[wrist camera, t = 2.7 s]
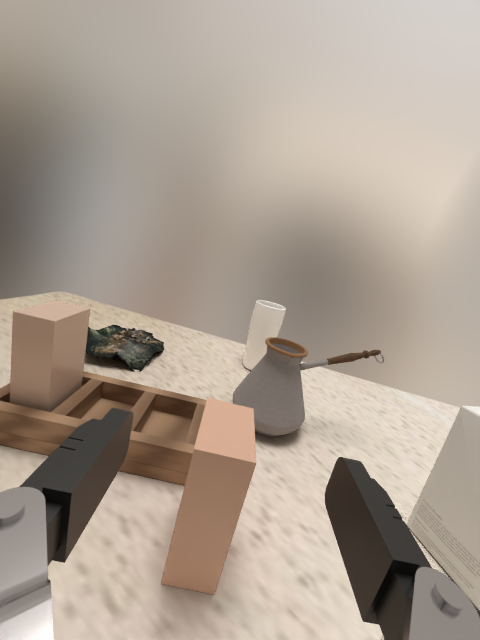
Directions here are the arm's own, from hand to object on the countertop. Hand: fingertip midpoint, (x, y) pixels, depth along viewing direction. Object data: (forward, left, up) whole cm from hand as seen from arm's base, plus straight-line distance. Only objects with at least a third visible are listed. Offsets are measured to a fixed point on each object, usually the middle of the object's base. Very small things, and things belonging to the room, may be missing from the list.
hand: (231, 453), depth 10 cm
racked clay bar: (-8, +26, -15) cm, 31 cm away
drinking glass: (+30, +38, -17) cm, 51 cm away
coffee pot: (+26, +19, -17) cm, 36 cm away
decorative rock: (+3, +47, -17) cm, 50 cm away
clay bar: (+5, +7, -17) cm, 19 cm away
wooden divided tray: (-1, +23, -17) cm, 28 cm away
